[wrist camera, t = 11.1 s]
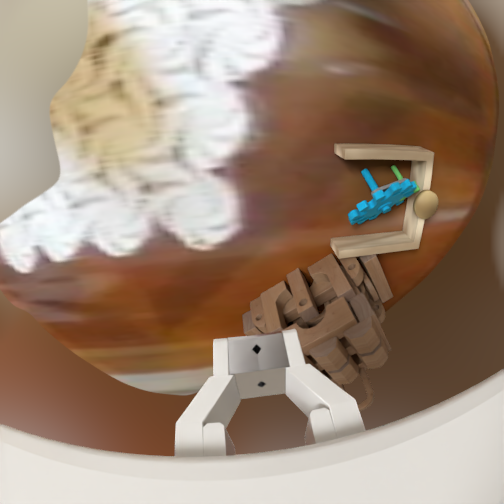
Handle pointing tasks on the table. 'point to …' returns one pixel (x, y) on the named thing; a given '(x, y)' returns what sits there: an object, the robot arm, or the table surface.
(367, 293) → the wooden puzzle
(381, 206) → the gear
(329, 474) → the robot arm
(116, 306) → the table surface
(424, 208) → the drawer
